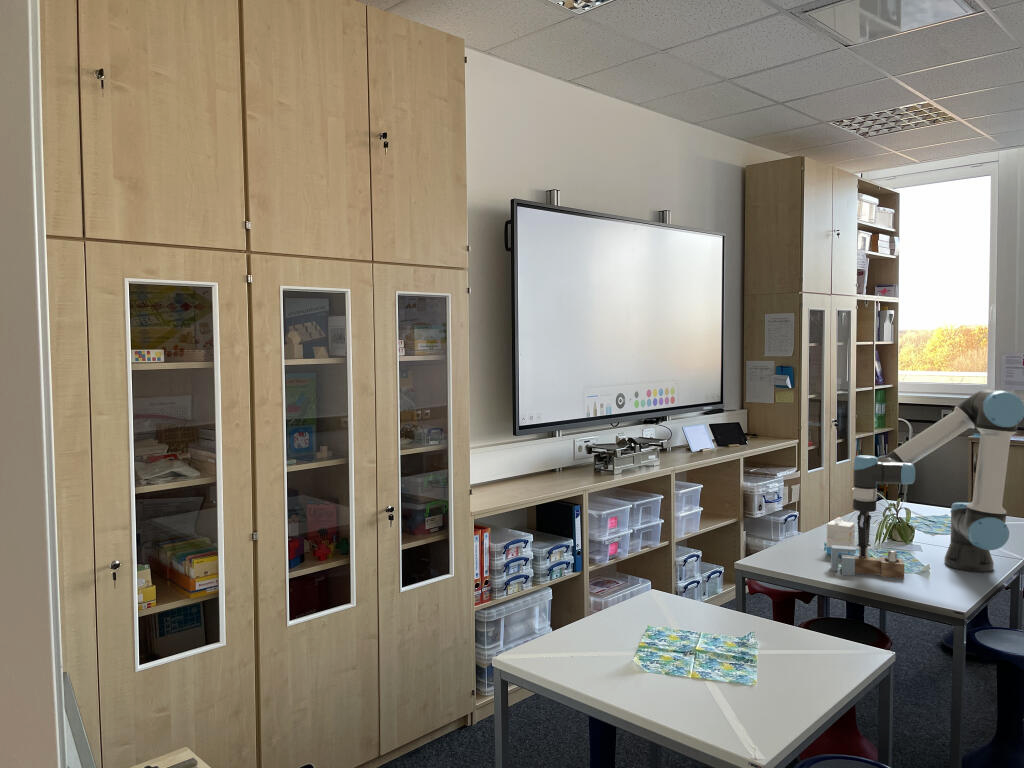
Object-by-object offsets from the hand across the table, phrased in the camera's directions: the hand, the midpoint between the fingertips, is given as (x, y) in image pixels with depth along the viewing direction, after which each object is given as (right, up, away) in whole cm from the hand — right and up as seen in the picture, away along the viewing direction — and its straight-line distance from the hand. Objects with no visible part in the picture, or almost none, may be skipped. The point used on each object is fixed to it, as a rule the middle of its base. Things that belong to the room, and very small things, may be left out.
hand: (863, 564), depth 264 cm
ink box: (+2, -1, +22) cm, 22 cm away
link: (+1, -2, -3) cm, 4 cm away
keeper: (-8, -2, -2) cm, 8 cm away
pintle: (+8, -2, -5) cm, 9 cm away
